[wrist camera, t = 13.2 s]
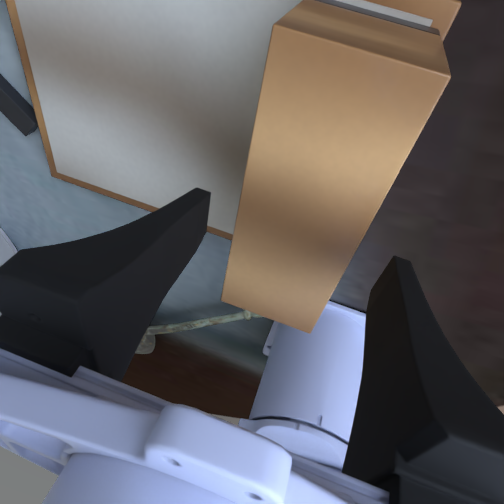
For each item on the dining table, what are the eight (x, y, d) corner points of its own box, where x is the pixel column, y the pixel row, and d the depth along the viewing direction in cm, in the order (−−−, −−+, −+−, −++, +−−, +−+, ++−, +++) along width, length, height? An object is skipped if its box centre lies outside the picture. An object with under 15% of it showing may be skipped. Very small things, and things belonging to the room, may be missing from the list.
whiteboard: (328, 265, 24) (326, 276, 23) (59, 170, 26) (50, 177, 25) (460, -2, 13) (463, 3, 13) (-13, -132, 15) (-33, -133, 15)
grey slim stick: (92, 299, 38) (134, 336, 42) (72, 325, 36) (117, 362, 39) (263, 269, 26) (304, 325, 29) (248, 306, 23) (294, 363, 27)
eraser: (326, 263, 23) (310, 334, 19) (251, 236, 23) (220, 301, 19) (440, 29, 13) (452, 76, 10) (310, -8, 14) (272, 23, 10)
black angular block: (44, 119, 23) (35, 124, 23) (34, 131, 24) (25, 136, 24) (-18, 54, 21) (-30, 58, 21) (-26, 70, 22) (-38, 74, 22)
